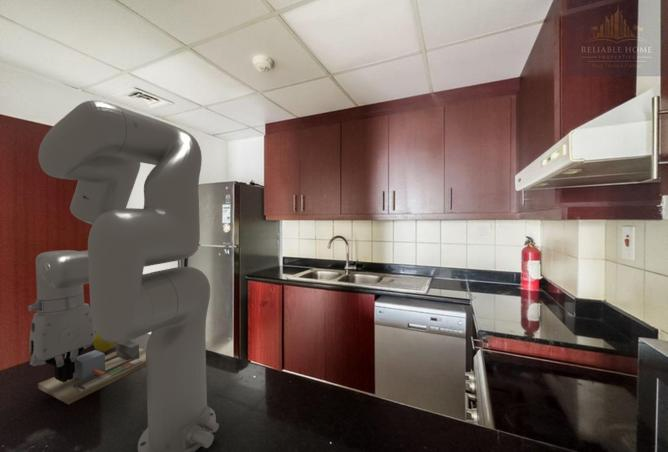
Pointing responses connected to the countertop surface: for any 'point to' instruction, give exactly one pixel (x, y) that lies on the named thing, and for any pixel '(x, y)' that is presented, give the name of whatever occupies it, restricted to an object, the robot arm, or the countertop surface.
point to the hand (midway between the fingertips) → (65, 379)
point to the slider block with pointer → (90, 365)
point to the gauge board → (115, 368)
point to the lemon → (102, 344)
